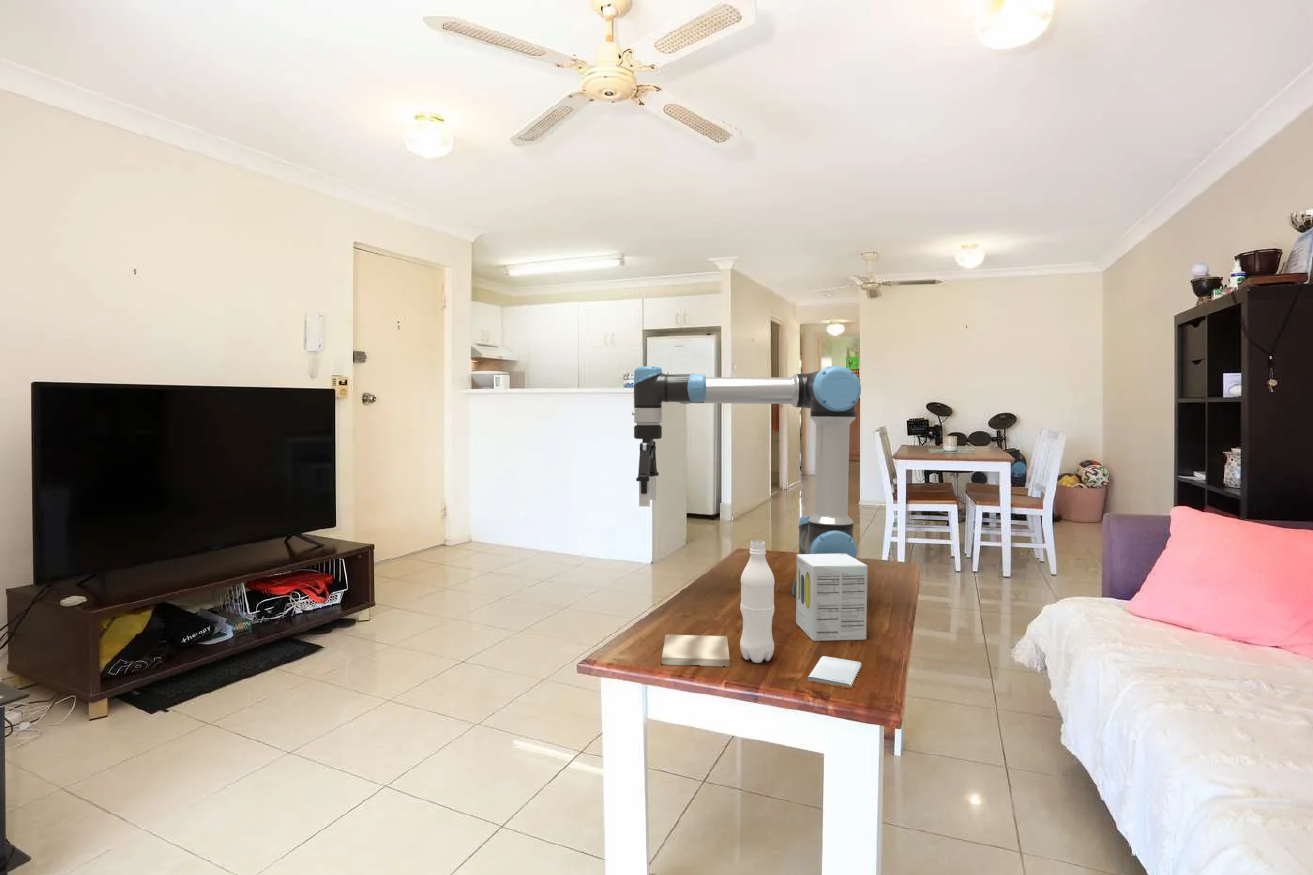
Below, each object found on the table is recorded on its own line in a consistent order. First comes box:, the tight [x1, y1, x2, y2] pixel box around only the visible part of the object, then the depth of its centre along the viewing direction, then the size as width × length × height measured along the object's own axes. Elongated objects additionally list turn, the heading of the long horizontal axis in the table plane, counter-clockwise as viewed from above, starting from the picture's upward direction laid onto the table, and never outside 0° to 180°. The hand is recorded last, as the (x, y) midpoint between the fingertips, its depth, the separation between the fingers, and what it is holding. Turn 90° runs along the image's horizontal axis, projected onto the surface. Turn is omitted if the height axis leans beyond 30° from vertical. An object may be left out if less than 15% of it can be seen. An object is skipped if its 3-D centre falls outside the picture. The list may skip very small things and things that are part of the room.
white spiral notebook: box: [807, 655, 862, 687], centre depth 128 cm, size 2×8×12 cm
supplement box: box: [795, 553, 868, 642], centre depth 153 cm, size 13×13×18 cm
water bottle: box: [739, 540, 775, 664], centre depth 135 cm, size 7×7×25 cm
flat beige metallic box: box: [661, 634, 731, 668], centre depth 139 cm, size 14×14×2 cm
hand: (647, 502), depth 172 cm, fingers open, 13 cm apart
